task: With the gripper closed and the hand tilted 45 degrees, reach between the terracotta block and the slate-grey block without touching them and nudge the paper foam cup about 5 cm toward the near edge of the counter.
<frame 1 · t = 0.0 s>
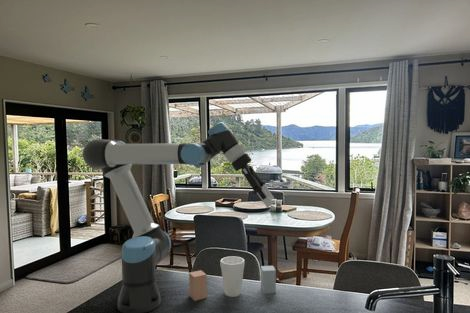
hand: (271, 202, 125), 36 cm above the counter, tool tilted 35°, fingers open, 13 cm apart
foam cup: (232, 293, 128), on the counter
slate block: (268, 290, 130), on the counter
terracotta block: (198, 296, 125), on the counter
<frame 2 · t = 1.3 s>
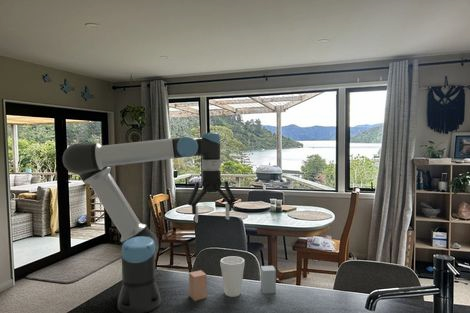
hand: (212, 220, 137), 27 cm above the counter, tool pointing down, fingers open, 13 cm apart
nothing on the counter moved.
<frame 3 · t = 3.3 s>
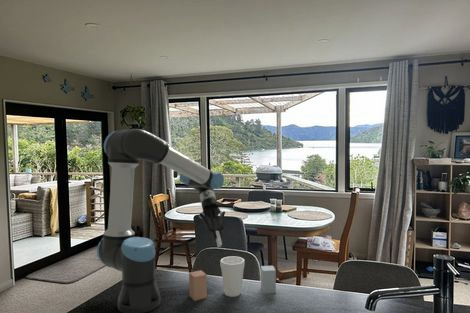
hand: (219, 245, 143), 14 cm above the counter, tool tilted 45°, fingers closed
nothing on the counter moved.
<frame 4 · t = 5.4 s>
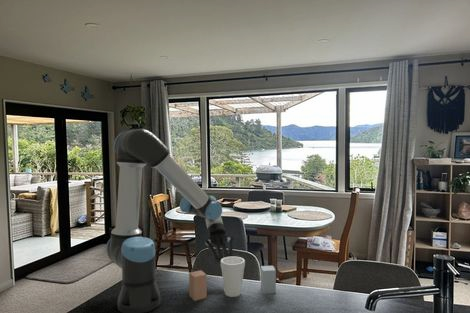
hand: (228, 276, 133), 5 cm above the counter, tool tilted 45°, fingers closed
foam cup: (233, 293, 128), on the counter, touching gripper
everything else where it was.
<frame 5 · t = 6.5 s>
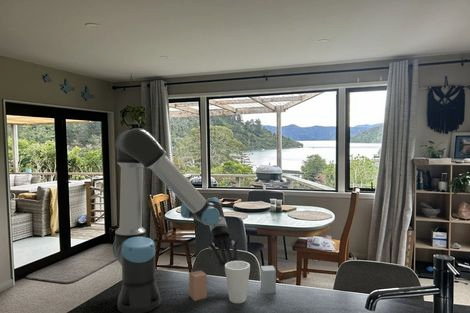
hand: (232, 281, 128), 5 cm above the counter, tool tilted 45°, fingers closed
foam cup: (237, 299, 123), on the counter, touching gripper
everything else where it was.
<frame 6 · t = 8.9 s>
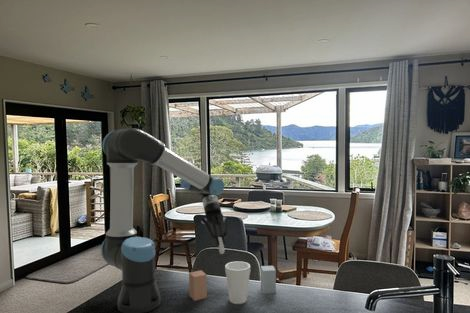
hand: (222, 252, 138), 13 cm above the counter, tool tilted 45°, fingers closed
foam cup: (238, 300, 122), on the counter
everything else where it was.
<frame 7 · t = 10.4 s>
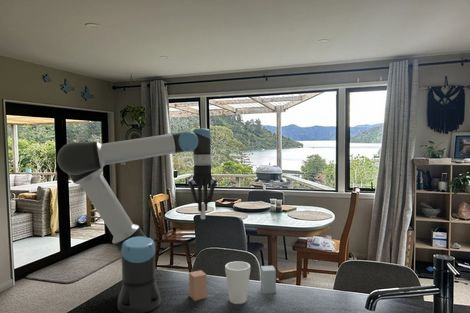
hand: (202, 218, 142), 26 cm above the counter, tool pointing down, fingers closed
nothing on the counter moved.
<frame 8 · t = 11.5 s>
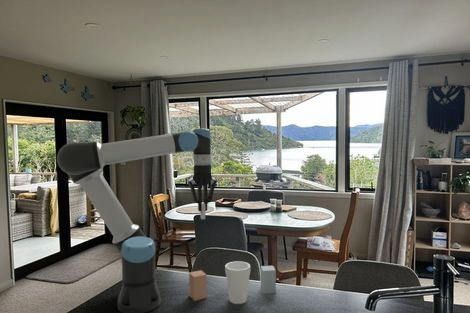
hand: (202, 218, 142), 26 cm above the counter, tool pointing down, fingers closed
nothing on the counter moved.
at the end: foam cup inside the target area (0.8 cm from its centre), on the counter; terracotta block moved 0.1 cm from its start; slate block moved 0.1 cm from its start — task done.
